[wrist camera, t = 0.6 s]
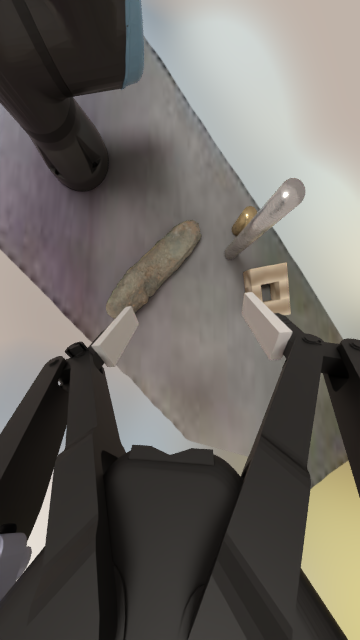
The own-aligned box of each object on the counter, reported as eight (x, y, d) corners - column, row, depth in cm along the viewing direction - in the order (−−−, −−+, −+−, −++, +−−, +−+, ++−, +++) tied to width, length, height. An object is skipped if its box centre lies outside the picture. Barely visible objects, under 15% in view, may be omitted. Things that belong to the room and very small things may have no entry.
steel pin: (223, 248, 37) (278, 180, 17) (235, 245, 37) (304, 175, 17) (225, 260, 37) (280, 209, 17) (237, 258, 37) (306, 204, 17)
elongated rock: (207, 244, 38) (183, 219, 37) (212, 232, 33) (184, 204, 32) (126, 328, 38) (102, 304, 38) (118, 330, 33) (89, 303, 33)
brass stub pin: (230, 224, 36) (241, 207, 30) (243, 221, 36) (256, 205, 30) (232, 237, 36) (243, 223, 30) (244, 234, 36) (257, 220, 30)
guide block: (243, 272, 37) (249, 269, 34) (276, 266, 37) (286, 262, 34) (248, 319, 39) (255, 320, 36) (280, 313, 39) (290, 313, 36)
